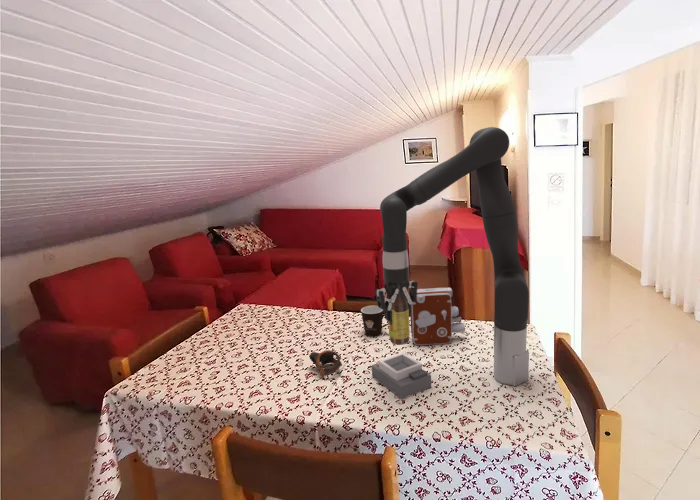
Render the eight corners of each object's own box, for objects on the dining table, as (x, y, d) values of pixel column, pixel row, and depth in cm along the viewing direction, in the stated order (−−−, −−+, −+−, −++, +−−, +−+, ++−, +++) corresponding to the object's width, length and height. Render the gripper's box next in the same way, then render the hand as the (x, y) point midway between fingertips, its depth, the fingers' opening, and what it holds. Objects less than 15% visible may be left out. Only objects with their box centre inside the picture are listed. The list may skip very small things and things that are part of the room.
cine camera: (467, 344, 162) (467, 292, 157) (413, 347, 162) (411, 295, 158) (461, 334, 171) (461, 283, 166) (410, 337, 171) (408, 287, 167)
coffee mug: (357, 334, 177) (356, 310, 175) (373, 327, 183) (371, 304, 180) (379, 342, 169) (377, 317, 166) (394, 334, 174) (393, 310, 172)
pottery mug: (346, 365, 154) (346, 352, 148) (335, 388, 148) (334, 375, 142) (315, 353, 158) (313, 340, 152) (302, 376, 151) (300, 362, 146)
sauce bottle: (390, 336, 141) (386, 276, 136) (410, 336, 140) (407, 275, 135) (388, 345, 135) (385, 282, 130) (409, 346, 134) (407, 282, 129)
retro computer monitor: (431, 386, 136) (430, 367, 135) (401, 398, 131) (400, 378, 130) (400, 366, 150) (399, 348, 148) (372, 376, 145) (371, 357, 143)
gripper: (382, 272, 125) (385, 328, 129) (423, 262, 132) (425, 316, 136) (368, 266, 132) (371, 320, 135) (407, 257, 138) (409, 309, 142)
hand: (398, 317), depth 136 cm, fingers closed on sauce bottle, 6 cm apart
